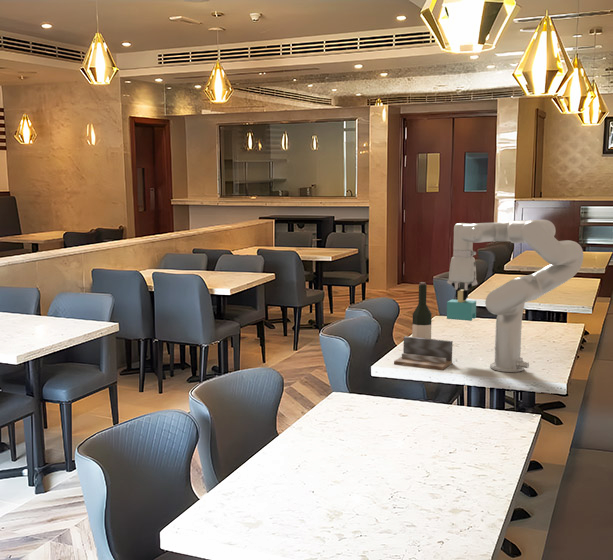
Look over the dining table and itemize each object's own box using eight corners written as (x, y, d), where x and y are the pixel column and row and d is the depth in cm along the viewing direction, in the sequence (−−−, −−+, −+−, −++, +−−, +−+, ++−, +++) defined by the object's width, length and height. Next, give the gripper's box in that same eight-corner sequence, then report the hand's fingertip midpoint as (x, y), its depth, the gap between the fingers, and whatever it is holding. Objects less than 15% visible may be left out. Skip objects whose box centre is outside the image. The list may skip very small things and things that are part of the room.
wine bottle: (425, 355, 295) (427, 284, 291) (408, 352, 300) (409, 283, 296) (434, 352, 302) (436, 282, 298) (417, 349, 307) (418, 281, 303)
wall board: (451, 363, 282) (452, 341, 281) (442, 369, 271) (443, 346, 270) (404, 357, 291) (405, 336, 290) (394, 363, 281) (394, 341, 280)
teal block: (475, 318, 286) (476, 290, 285) (471, 320, 280) (471, 292, 279) (451, 316, 291) (452, 288, 290) (446, 318, 285) (447, 290, 284)
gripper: (485, 254, 282) (483, 299, 284) (446, 252, 289) (445, 297, 292) (480, 255, 275) (478, 302, 278) (440, 254, 283) (439, 299, 285)
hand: (461, 299), depth 285 cm, fingers closed on teal block
